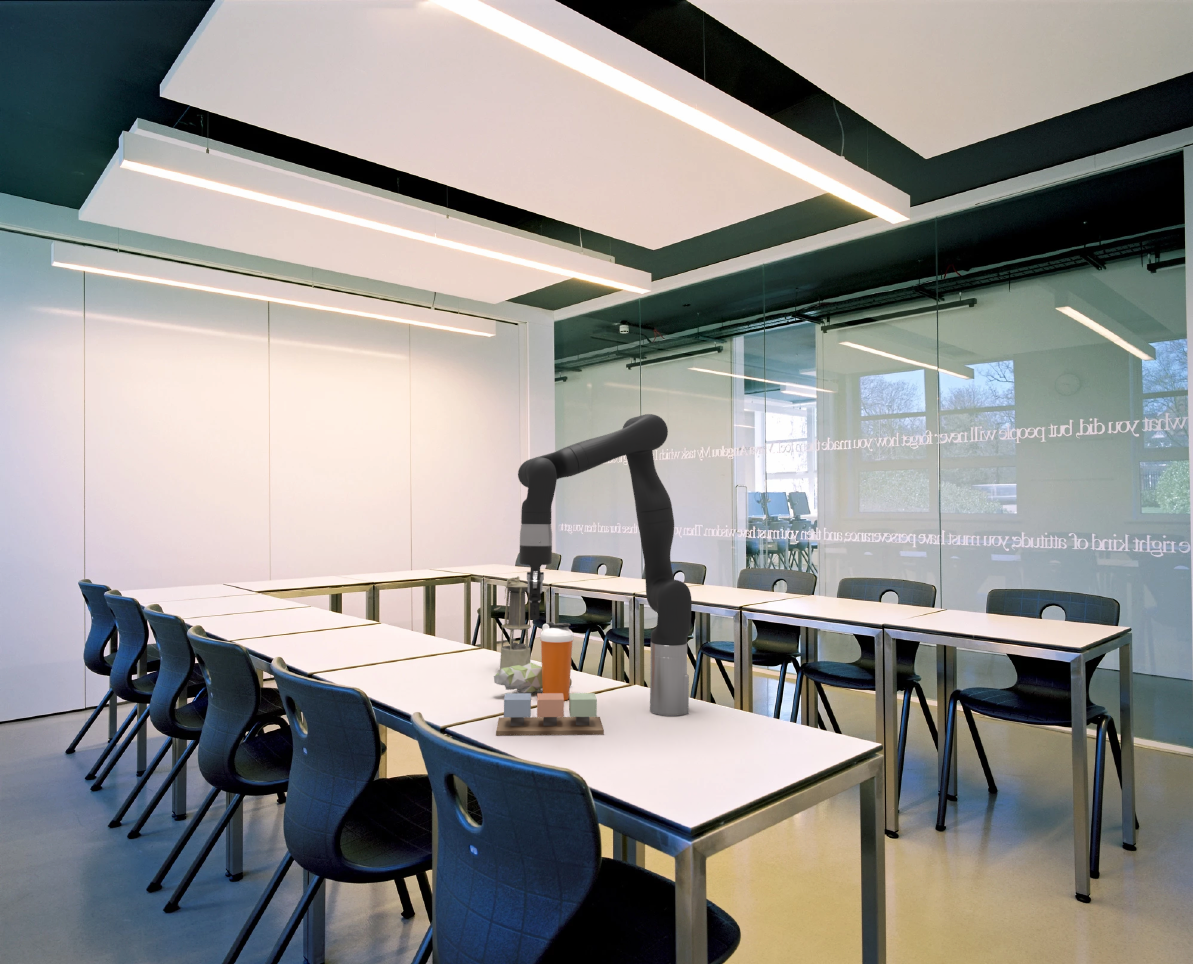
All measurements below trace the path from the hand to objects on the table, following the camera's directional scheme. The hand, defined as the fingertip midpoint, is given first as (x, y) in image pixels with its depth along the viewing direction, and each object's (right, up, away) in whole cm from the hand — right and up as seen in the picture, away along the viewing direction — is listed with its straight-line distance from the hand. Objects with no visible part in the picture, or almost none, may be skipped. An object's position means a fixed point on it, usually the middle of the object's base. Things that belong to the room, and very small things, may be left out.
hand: (534, 618), depth 169 cm
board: (+4, -25, -1) cm, 25 cm away
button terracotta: (+4, -22, -1) cm, 22 cm away
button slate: (-4, -22, -1) cm, 22 cm away
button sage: (+11, -22, 0) cm, 25 cm away
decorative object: (-3, -27, +33) cm, 43 cm away
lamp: (-12, -28, +56) cm, 64 cm away
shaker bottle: (+3, -27, +27) cm, 38 cm away
